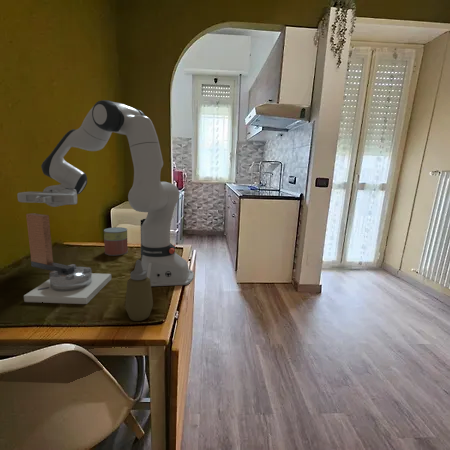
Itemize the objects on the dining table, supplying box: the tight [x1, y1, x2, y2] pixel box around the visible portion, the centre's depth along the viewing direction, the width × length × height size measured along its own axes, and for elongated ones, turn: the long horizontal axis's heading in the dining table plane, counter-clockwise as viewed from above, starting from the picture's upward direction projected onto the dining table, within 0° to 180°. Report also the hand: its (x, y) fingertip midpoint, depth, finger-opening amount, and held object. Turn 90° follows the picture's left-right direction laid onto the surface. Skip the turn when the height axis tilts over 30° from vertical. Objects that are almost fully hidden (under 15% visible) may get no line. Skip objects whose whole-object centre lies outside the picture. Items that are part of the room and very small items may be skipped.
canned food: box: [103, 226, 129, 256], centre depth 138 cm, size 11×11×12 cm
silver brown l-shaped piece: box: [25, 212, 93, 291], centre depth 95 cm, size 24×13×24 cm, turn 71°
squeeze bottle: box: [125, 259, 154, 322], centre depth 80 cm, size 8×8×18 cm
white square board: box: [23, 272, 112, 305], centre depth 96 cm, size 20×20×2 cm
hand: (39, 200), depth 101 cm, fingers closed
